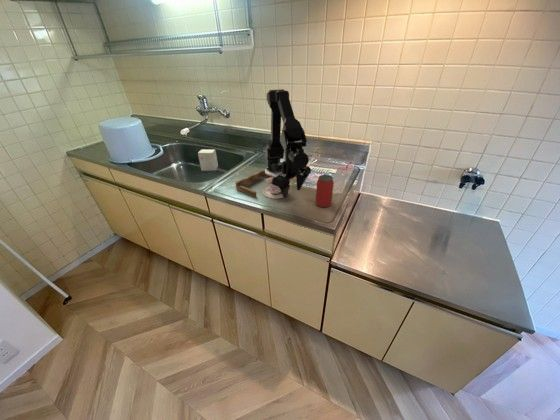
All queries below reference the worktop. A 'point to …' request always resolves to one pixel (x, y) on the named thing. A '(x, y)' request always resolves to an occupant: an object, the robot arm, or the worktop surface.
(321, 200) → the beer can
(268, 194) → the teacup
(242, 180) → the open wooden frame
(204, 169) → the small box
